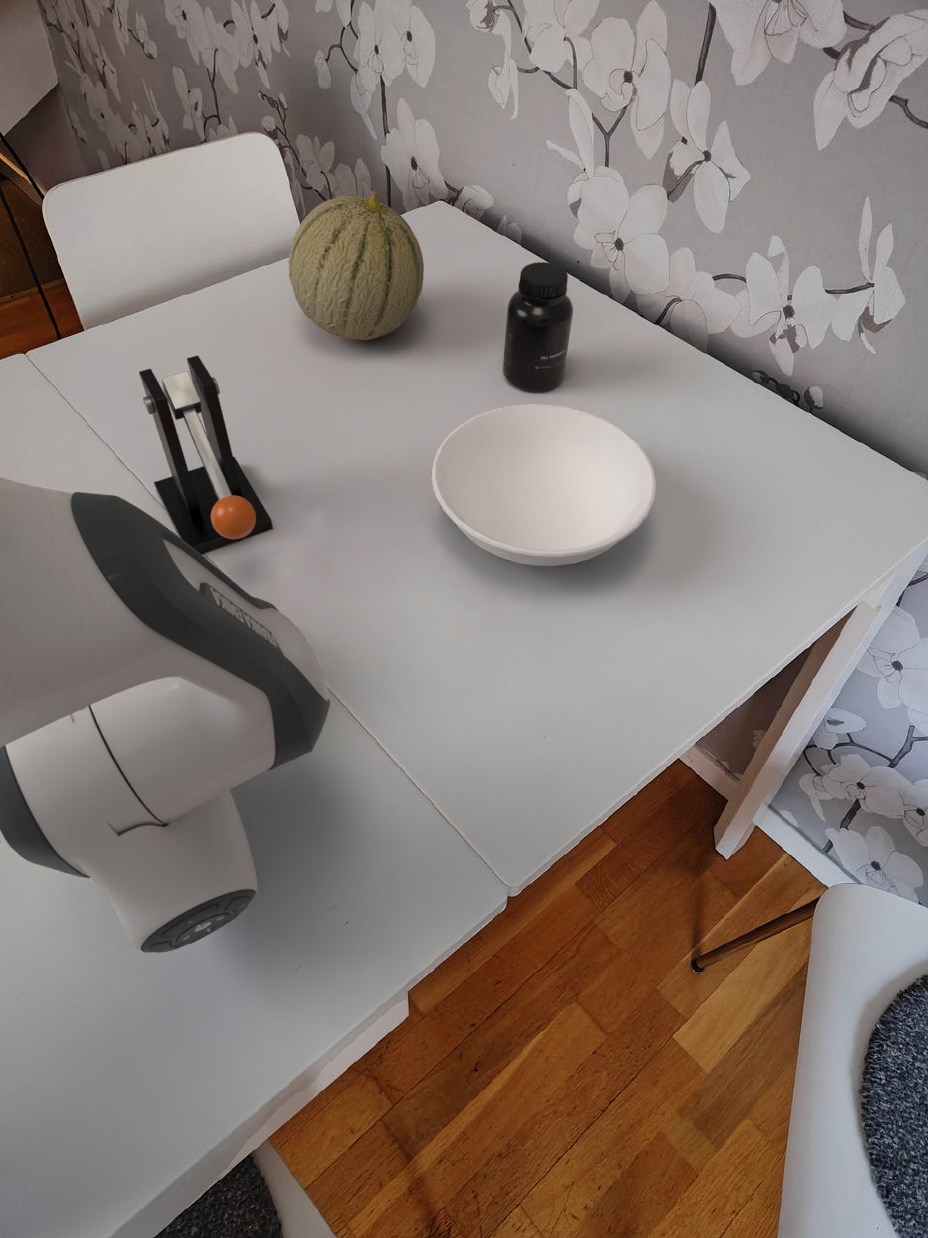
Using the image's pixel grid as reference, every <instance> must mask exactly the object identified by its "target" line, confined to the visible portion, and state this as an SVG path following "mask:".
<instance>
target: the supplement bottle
mask: <svg viewBox="0 0 928 1238" xmlns="http://www.w3.org/2000/svg"><path fill="white" fill-rule="evenodd" d="M568 280H569V275H568V273H567V271H566V270H565V269H564V268H563V267H561V266H560V265H557V264H555V263H552V262H548V261H547V262H545V261H540V262H539V261H538V262H532V263H529V264H526V265H525V266H524V267H523V268H522V269H521V271H520V275H519V282H518V287H517V288H518V289H517V291H515V292H514V293H513V295H511V297H510V298H509V301H508V302H507V303H508V304H507V311H506V312H507V313H506V322H505V323H506V324H505V335H504V337H505V338H504V349H503V363H502V374H503V375H504V378H505V380H506V381H507V382H508V383H509V384H510V385H511V386H513V387H515V388H516V389H518V390H522V391H526V392H531V393H540V392H546V391H549V390H552V389H554V388H555V387H557V386H558V385H559V384H560V383H561V382H562V381H563V379H564V376H565V371H566V366H567V357H568V350H569V343H570V336H571V330H572V324H573V316H574V306H573V302H572V300H571V299H570V297H569V296H568V295H567V292H568Z"/></svg>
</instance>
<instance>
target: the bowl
mask: <svg viewBox="0 0 928 1238" xmlns="http://www.w3.org/2000/svg"><path fill="white" fill-rule="evenodd" d="M431 483H432V488H433V492H434V495H435V498H436V500H437V502H438V503H439V505H440V506H441V508H442V511H444V512H445V513H446V514H447V516H448V517H449V518H450V519H451V520H452V521H453V522H454V524H456V525H457V527H458V528H459V529H460V530H461V531H462V533H463V534H464V535H465V536H466V537H467V539H469V540H471V541H472V542H473V543H474V544H476V545H477V546H478V547H479V548H481V549H483V550H484V551H487V552H488V553H490V554H492V555H494V556H496V557H499V558H502V559H505V560H508V561H510V562H514V563H518V564H524V565H530V566H542V567H557V566H565V565H574V564H577V563H580V562H581V563H582V562H584V561H588V560H591V559H594V558H596V557H597V556H599V555H601V554H603V553H605V552H607V551H608V550H610V549H611V548H612V547H614V546H615V545H616V544H617V543H618V542H620V541H622V540H624V539H625V538H626V537H628V536H629V535H631V534H632V533H633V532H634V531H636V530H637V529H639V527H640V526H641V525H642V524H643V522H644V521H645V520H646V518H647V517H648V516H649V514H650V512H651V510H652V508H653V505H654V503H655V500H656V493H657V492H656V491H657V481H656V475H655V470H654V467H653V464H652V463H651V461H650V459H649V457H648V454H647V452H645V451H644V449H643V448H642V446H641V445H640V444H639V443H638V441H636V440H635V439H634V438H633V437H632V436H631V435H629V434H628V433H627V432H626V431H625V430H623V429H622V428H620V427H619V426H617V425H616V424H614V423H612V422H611V421H609V420H607V419H606V418H605V419H604V418H602V417H600V416H597V415H596V414H593V413H590V412H587V411H584V410H580V409H576V408H573V407H569V406H563V405H556V404H547V403H546V404H544V403H543V404H542V403H526V404H515V405H506V406H503V407H500V408H494V409H491V410H488V411H485V412H483V413H481V414H478V415H475V416H473V417H471V418H469V419H468V420H466V421H465V422H463V423H462V424H460V425H458V426H457V427H456V428H455V429H454V430H453V431H451V433H449V434H448V435H447V436H446V437H445V438H444V440H443V442H442V443H441V444H440V446H439V447H438V449H437V451H436V454H435V456H434V459H433V462H432V467H431Z"/></svg>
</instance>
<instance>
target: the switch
mask: <svg viewBox="0 0 928 1238" xmlns="http://www.w3.org/2000/svg"><path fill="white" fill-rule="evenodd" d="M161 384H162V390H163V392H164V394H165V396H166V397H167V400H168V404H169V407H170V410H171V413H172V414H173V416H174V417H173V418H174V419H175V420H176V421H178V420H181V419H183V421H184V423H185V425H186V427H187V431H188V432H189V435H190V437H191V439H192V441H193V444H194V447H195V449H196V451H197V453H198V455H199V458H200V461H201V463H202V465H203V466H204V468H205V470H206V472H207V475H208V477H209V479H210V482H211V484H212V487H213V489H214V491H215V494H216V496H217V498H218V501H217V502H216V503H215V505H214V506H213V508H212V512H211V522H212V525H213V527H214V529H215V530H216V531H217V532H218V533H219V534H220V535H221V536H223V537H225V538H228V539H240V538H243V537H245V536H247V535H248V534H249V533H250V532H251V531H252V530H253V528H254V526H255V522H256V514H255V510H254V508H253V506H252V505H251V503H250V502H249V501H247V500H246V499H245V498H243V497H240V496H235V495H232V494H231V491H230V489H229V487H228V484H227V482H226V479H225V477H224V475H223V472H222V470H221V468H220V465H219V463H218V461H217V458H216V456H215V454H214V451H213V449H212V446H211V444H210V442H209V439H208V437H207V433H206V429H205V427H204V424H202V420H201V418H200V416H199V414H201V400H200V398H199V395H198V393H197V390H196V388H195V386H194V383H193V381H192V377H191V373H190V371H188V370H186V371H182V372H179V373H176V374H175V373H174V374H172V375H168V376H165V377H161Z"/></svg>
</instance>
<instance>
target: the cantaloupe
mask: <svg viewBox="0 0 928 1238" xmlns="http://www.w3.org/2000/svg"><path fill="white" fill-rule="evenodd" d="M424 269H425V266H424V257H423V252H422V249H421V246H420V243H419V240H418V239H417V237H416V235H415V233H414V231H413V230H412V227H411V226H410V225H409V223H408V222H407V221H406V220H405V218H404V217H403V216H402V215H401V214H400V213H399V212H398V211H396V210H395V209H393V208H392V207H390V206H389V205H387V204H386V203H383V202H380V201H379V196H378V193H377V191H375V190H373V191H371V196H370V197H369V196H366V197H365V196H364V197H363V196H354V195H350V194H349V195H342V196H338V197H334V198H332V199H327V200H325V201H323V202H322V203H320V204H318V205H317V206H315V207H314V208H313V209H312V210H311V211H310V212H309V213H308V214H307V215H306V216H305V217H304V219H303V220H302V221H301V223H300V224H299V226H298V228H297V230H296V231H295V234H294V236H293V238H292V243H291V245H290V250H289V253H288V271H289V272H288V277H289V280H290V284H291V287H292V291H293V294H294V298H295V300H296V303H297V304H298V307H299V308H300V309H301V312H302V314H304V315H305V316H306V318H308V319H309V320H311V321H312V322H313V324H314V325H316V326H317V327H319V328H321V329H323V330H324V331H325V332H327V333H329V334H332V335H335V336H337V337H341V338H346V339H347V340H348V339H349V340H362V341H368V340H374V339H377V338H380V337H384V336H386V335H388V334H390V333H391V332H394V331H395V330H397V329H398V328H399V327H400V326H402V324H404V323H405V322H406V320H407V319H408V318H409V316H411V314H412V313H413V311H414V310H415V308H416V306H417V304H418V302H419V299H420V296H421V293H422V291H423V285H424V273H425V271H424Z"/></svg>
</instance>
